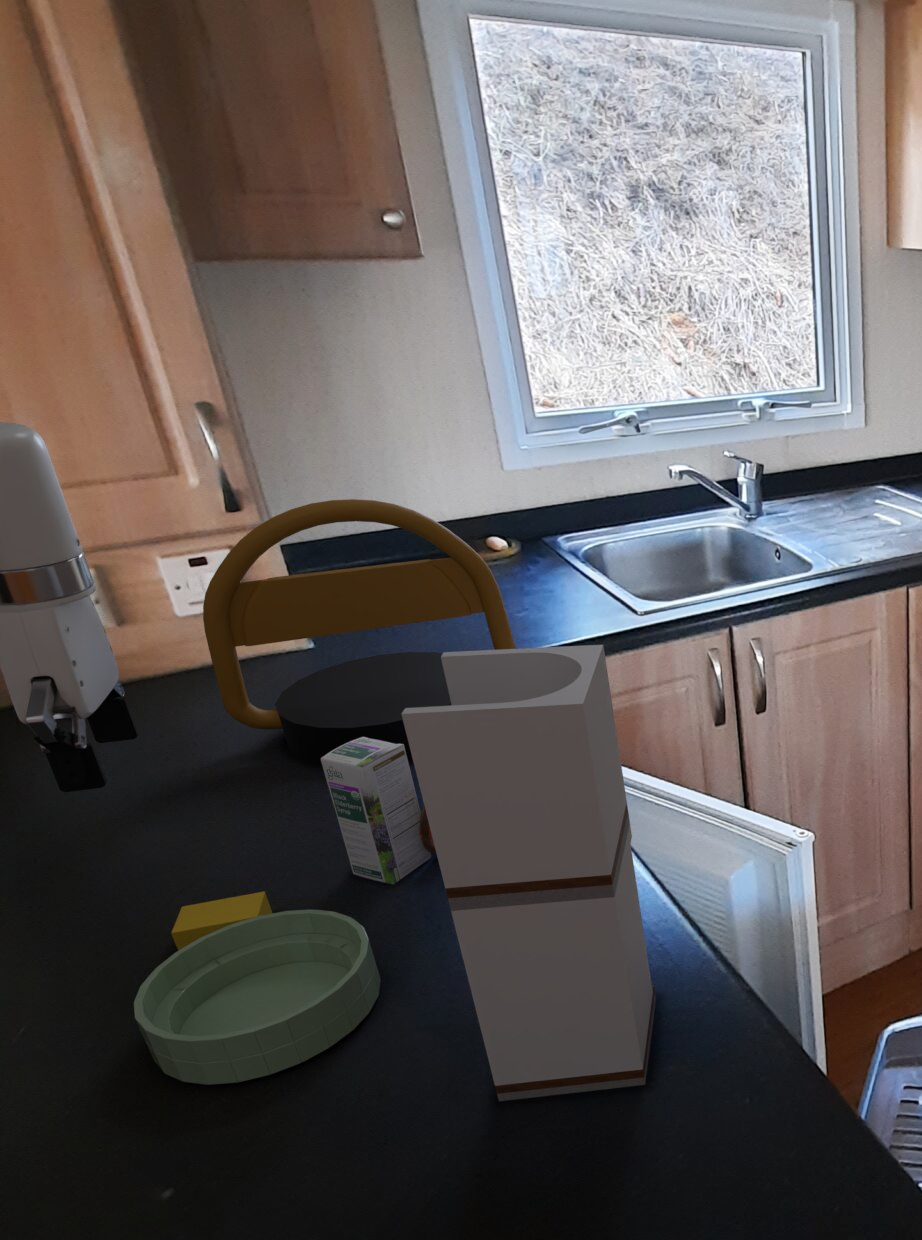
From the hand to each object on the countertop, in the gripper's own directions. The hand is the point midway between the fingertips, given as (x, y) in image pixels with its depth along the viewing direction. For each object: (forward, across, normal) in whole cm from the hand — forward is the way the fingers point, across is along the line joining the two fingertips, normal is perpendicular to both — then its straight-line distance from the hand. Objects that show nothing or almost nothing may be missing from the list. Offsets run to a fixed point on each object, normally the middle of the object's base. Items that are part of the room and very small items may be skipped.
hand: (102, 763), depth 94 cm
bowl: (+19, +16, +11) cm, 28 cm away
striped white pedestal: (+19, +30, +37) cm, 51 cm away
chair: (+19, -43, +17) cm, 50 cm away
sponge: (+19, +2, +6) cm, 20 cm away
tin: (+19, -10, +28) cm, 35 cm away
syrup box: (+19, -6, +20) cm, 28 cm away
